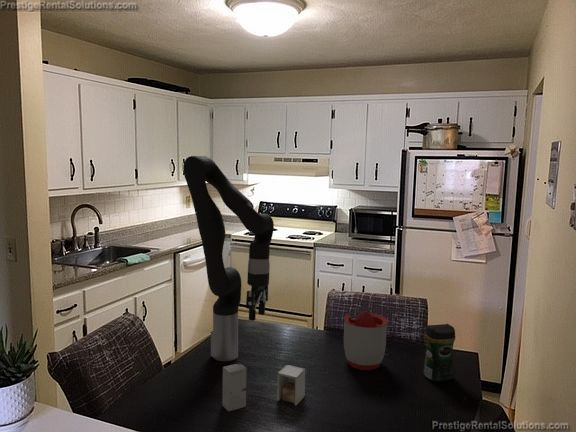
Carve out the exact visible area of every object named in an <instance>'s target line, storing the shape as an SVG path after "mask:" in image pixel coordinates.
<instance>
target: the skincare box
mask: <svg viewBox="0 0 576 432" xmlns="http://www.w3.org/2000/svg"><path fill="white" fill-rule="evenodd" d="M222 406H223V408H224V409H226V411H227V412H231V411H236V410H239V409H242V408H245V407H246V406H247V367H246V366H244V365H243V364H242V363H240V362H239V363H236V364H230V365H226V366H222Z"/></svg>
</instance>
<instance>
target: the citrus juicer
mask: <svg viewBox="0 0 576 432" xmlns="http://www.w3.org/2000/svg"><path fill="white" fill-rule="evenodd" d="M343 320H344V323H343V324H344V326H343V347H344V348H343V349H344V354H345V359H346V362H347V363H348V365H349V366H350V367H352V368H354V369H357V370H360V371H372V370H376V369H378V368H379V367H380V366H381V364H382V362H383V360H384V357H385V353H386V352H385V351H386V346H387V331H388V330H387V329H388V323H389V321H388V318H386V317H385V316H383V315H381V314H378V313H374V312H369V311H367V310H365V311H363V312H362V311H360V315H359V316H358V317H357V318H356V319H352V316H351V315H350V314H349V313H348V314H346V315H344V316H343Z"/></svg>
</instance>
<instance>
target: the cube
mask: <svg viewBox="0 0 576 432" xmlns="http://www.w3.org/2000/svg"><path fill="white" fill-rule="evenodd" d="M281 399H282V401H285V402H289V403H293V404H295V384H293V383H289V382H288V383H287V384H286V385H285V386H284V387H283V393H282V398H281Z"/></svg>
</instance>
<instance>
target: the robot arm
mask: <svg viewBox="0 0 576 432" xmlns="http://www.w3.org/2000/svg"><path fill="white" fill-rule="evenodd" d="M182 165H183V166H182V171H183V175H184V178H185V182H186V185H187V188H188V190H189V193H190V197H191V201H192V205H193V209H194V212H195V217H196V222H197V227H198V232H199V235H200V236H199V237H200V238H201V245H202V250H203V254H204V259H205V260H204V261H205V266H206V267H205V268H206V276H207V282H208V287H209V289H210V291H211V293H212V294H213V295H214V296H216V297H218V298H217V299H216V301H215V302H214V303H213V305H212V330H211V331H210V357H212V358H213V359H214V360H216V361H217V362H218V361H219V362H231V361H234V360H236V359H237V358H238V357H239V307H240V305H241V301H242V300H241V299H242V297H241V296H242V277H241V275H240V272H239V271H238V270H237V269H236V268H234V267H231V266H230V267H225V264H224V258H223V252H224V245H225V239H226V228H225V223H224V219H223V218H224V217H223V215H222V212H221V210H220V208H219V206H217V204H216V202H215V201H214V200H213V199H212V197H211V195H210V193H209V190H208V187H207V183H208V184H209V185H211V186H212V187H214V188H215V190H216V191H217V192H218V194H219V196H220V198H221V200H222V202H223V203H224V205H225V206H226V207H227V208H228V209H229V210H230V212H232V213H233V214H234V215H235V216H237V218H238V219H239V221H240V222H241V224H242V225H243V226H244V227H245V229H246V230H247V231H248V232H250V233H251V234H254V238H253V240H252V241H251V242H250V244H249V248H248V249H249V250H248V263H247V281H246V283H247V285H249V286H250V290H246V302H245V309H247V310H248V320H249V321H252V322H255V321H256V315H257V311H256V310H258V315H261V316H264V315H265V314H266V304H267V302H268V301H269V285H270V269H271V267H270V266H271V265H270V264H271V263H270V252H271V251H270V245H271V243H272V238H273V235H274V229H275V227H274V225H275V223H274V220H273V218H272V216H271V215H270V214H268V213H258V212H257V210H255V208H254V207H255V206H254V203H252V201H251V200H250V199H248V197H246V196H245V195H244V193H242V192H241V191H240V190H239V189H238V188H237V187H236V186H235V185H234V184H233V183H232V182H231V181H230V180H229V178H228V177H227V176H226V175H225V174H224V173H223V171H222V170H221V168H220V167H219V165H217V164H216V162H215V161H214V160H213V159H212V158H211V157H209V156H207V155H206V156H205V155H190V156H188V157H186V158H185V160H184V161H183V164H182ZM257 307H258V309H257Z"/></svg>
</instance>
